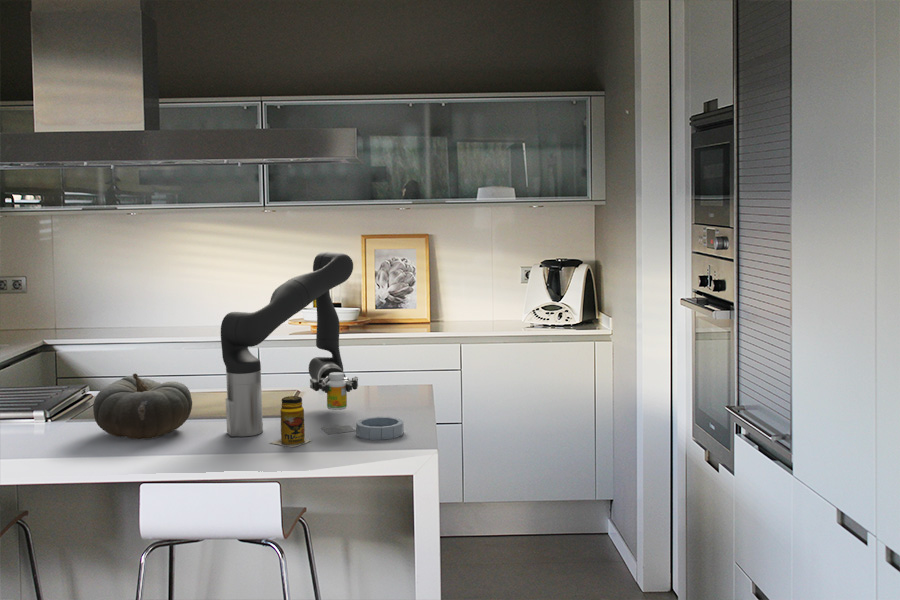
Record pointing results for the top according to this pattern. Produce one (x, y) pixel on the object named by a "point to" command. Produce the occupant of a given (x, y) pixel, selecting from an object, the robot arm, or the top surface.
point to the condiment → (292, 422)
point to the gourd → (142, 407)
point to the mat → (338, 429)
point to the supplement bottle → (336, 392)
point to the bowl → (379, 428)
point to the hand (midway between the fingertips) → (337, 388)
